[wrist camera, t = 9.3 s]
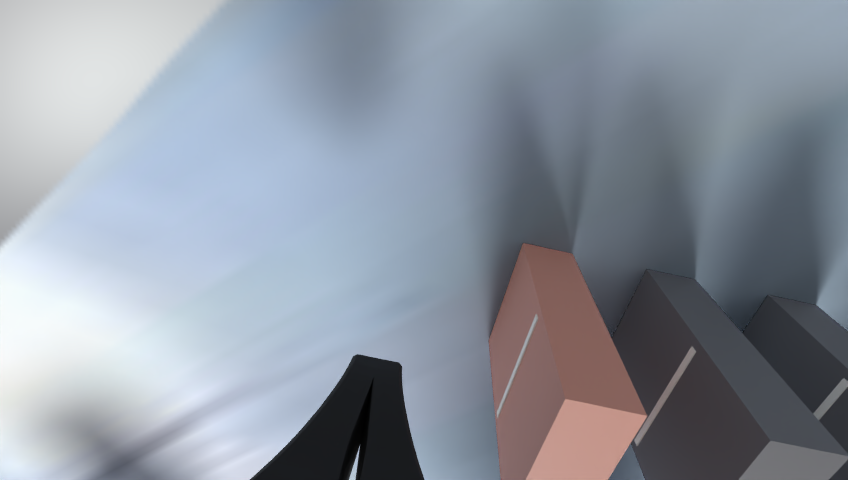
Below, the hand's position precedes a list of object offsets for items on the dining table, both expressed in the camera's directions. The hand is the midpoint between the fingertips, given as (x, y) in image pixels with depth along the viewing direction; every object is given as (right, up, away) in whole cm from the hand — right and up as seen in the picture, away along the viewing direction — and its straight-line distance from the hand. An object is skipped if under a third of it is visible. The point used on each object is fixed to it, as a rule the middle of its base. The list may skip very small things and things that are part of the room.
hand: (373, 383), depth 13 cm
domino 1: (+11, +1, +6) cm, 12 cm away
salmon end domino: (+6, +2, +6) cm, 8 cm away
